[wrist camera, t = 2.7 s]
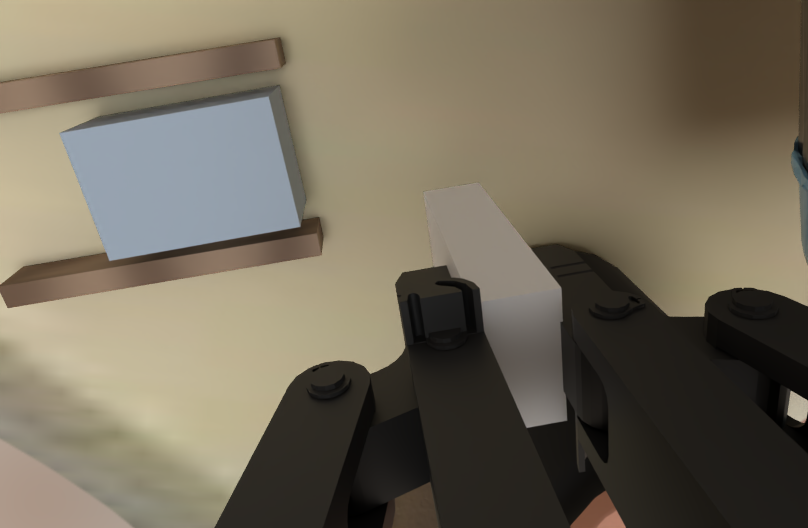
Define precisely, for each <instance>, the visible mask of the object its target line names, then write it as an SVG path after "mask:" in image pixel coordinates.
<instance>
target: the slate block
mask: <svg viewBox="0 0 808 528" xmlns="http://www.w3.org/2000/svg"><path fill="white" fill-rule="evenodd" d="M60 136H61V139H62V141H63V144H64V146H65V149H66V151H67V154H68V156H69V159H70V161H71V164H72V167H73V169H74V172H75V174H76V177H77V179H78V182H79V184H80V187H81V189H82V192H83V195H84V197H85V200H86V202H87V205H88V207H89V210H90V212H91V215H92V218H93V220H94V223H95V225H96V228H97V230H98V233H99V235H100V238H101V240H102V243H103V246H104V248H105V251H106V253H107V256H108V258H109V261H112V260H118V259H123V258H129V257H134V256H140V255H146V254H151V253H157V252H162V251H168V250H174V249H179V248H185V247H190V246H196V245H202V244H207V243H213V242H218V241H224V240H229V239H235V238H241V237H246V236H252V235H257V234H263V233H269V232H274V231H280V230H285V229H291V228H297V227H300V226H301V222H302V217H303V213H304V208H305V204H306V196H305V192H304V188H303V184H302V179H301V175H300V171H299V167H298V162H297V158H296V154H295V150H294V145H293V141H292V137H291V133H290V128H289V124H288V120H287V116H286V111H285V107H284V103H283V99H282V94H281V90H280V86H279V85H277V86H271V87H265V88H259V89H254V90H248V91H242V92H237V93H231V94H225V95H219V96H214V97H208V98H202V99H197V100H191V101H185V102H179V103H174V104H168V105H162V106H157V107H151V108H145V109H140V110H134V111H128V112H122V113H117V114H111V115H105V116H100V117H96V118H94V119H92V120H89V121H87V122H85V123H82V124H80V125H78V126H75V127H73V128H70V129H68V130H66V131H63V132H61V133H60Z"/></svg>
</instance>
